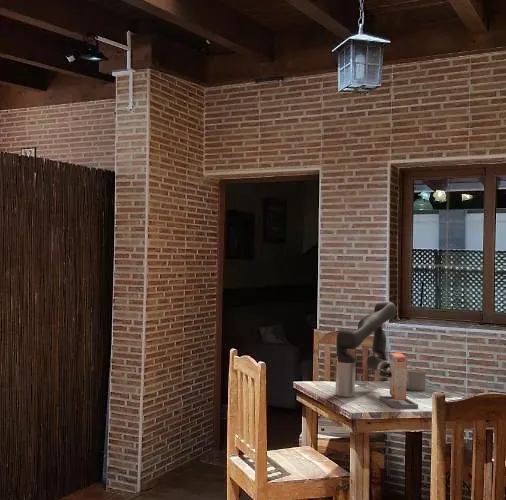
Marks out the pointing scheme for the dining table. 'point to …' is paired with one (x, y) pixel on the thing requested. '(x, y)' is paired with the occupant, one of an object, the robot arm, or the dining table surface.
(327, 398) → the dining table surface
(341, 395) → the robot arm
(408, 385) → the coffee mug
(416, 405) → the tray
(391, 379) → the cracker box
